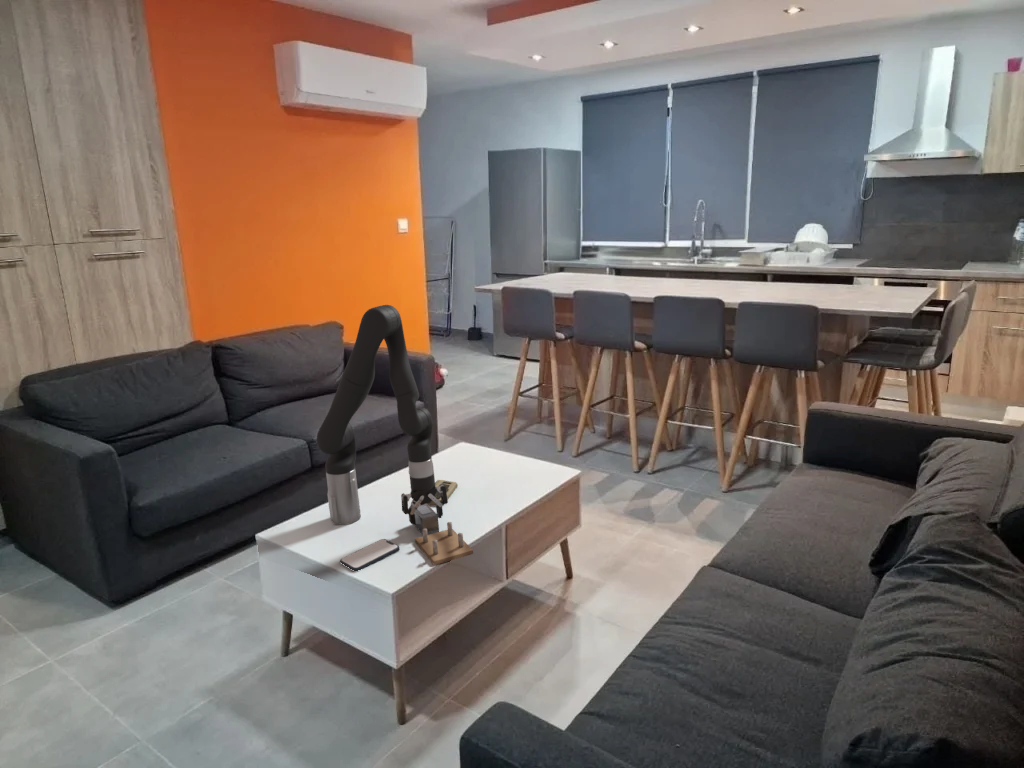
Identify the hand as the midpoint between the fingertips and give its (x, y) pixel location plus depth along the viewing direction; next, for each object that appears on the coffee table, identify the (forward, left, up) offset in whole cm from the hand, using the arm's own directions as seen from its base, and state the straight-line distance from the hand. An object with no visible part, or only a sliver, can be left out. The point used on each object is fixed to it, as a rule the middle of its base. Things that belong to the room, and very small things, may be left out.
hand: (426, 520), depth 209 cm
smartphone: (-21, -8, -3) cm, 22 cm away
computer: (+13, +21, -3) cm, 25 cm away
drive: (0, 0, -3) cm, 3 cm away
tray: (0, -15, -3) cm, 15 cm away
